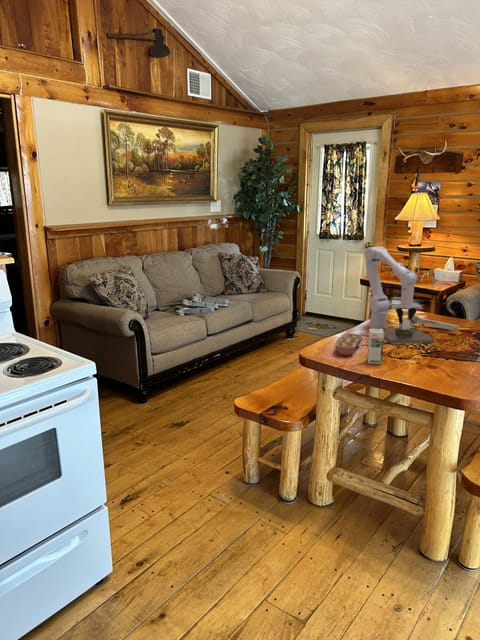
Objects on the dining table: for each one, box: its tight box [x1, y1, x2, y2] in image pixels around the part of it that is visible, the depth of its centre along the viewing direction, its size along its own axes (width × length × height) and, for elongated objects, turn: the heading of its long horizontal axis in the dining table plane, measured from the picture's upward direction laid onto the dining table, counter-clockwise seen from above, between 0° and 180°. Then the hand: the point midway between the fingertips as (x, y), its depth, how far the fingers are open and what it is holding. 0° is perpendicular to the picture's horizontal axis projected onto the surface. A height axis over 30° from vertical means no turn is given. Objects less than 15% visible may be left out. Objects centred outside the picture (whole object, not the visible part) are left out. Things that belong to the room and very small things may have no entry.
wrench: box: [403, 310, 460, 332], centre depth 263 cm, size 8×2×30 cm
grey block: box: [398, 317, 411, 330], centre depth 247 cm, size 4×4×5 cm
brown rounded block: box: [335, 333, 363, 356], centre depth 228 cm, size 23×10×5 cm, turn 154°
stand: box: [376, 326, 435, 344], centre depth 248 cm, size 22×22×4 cm
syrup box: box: [366, 328, 385, 365], centre depth 211 cm, size 6×6×14 cm
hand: (404, 322), depth 247 cm, fingers closed on grey block, 4 cm apart
